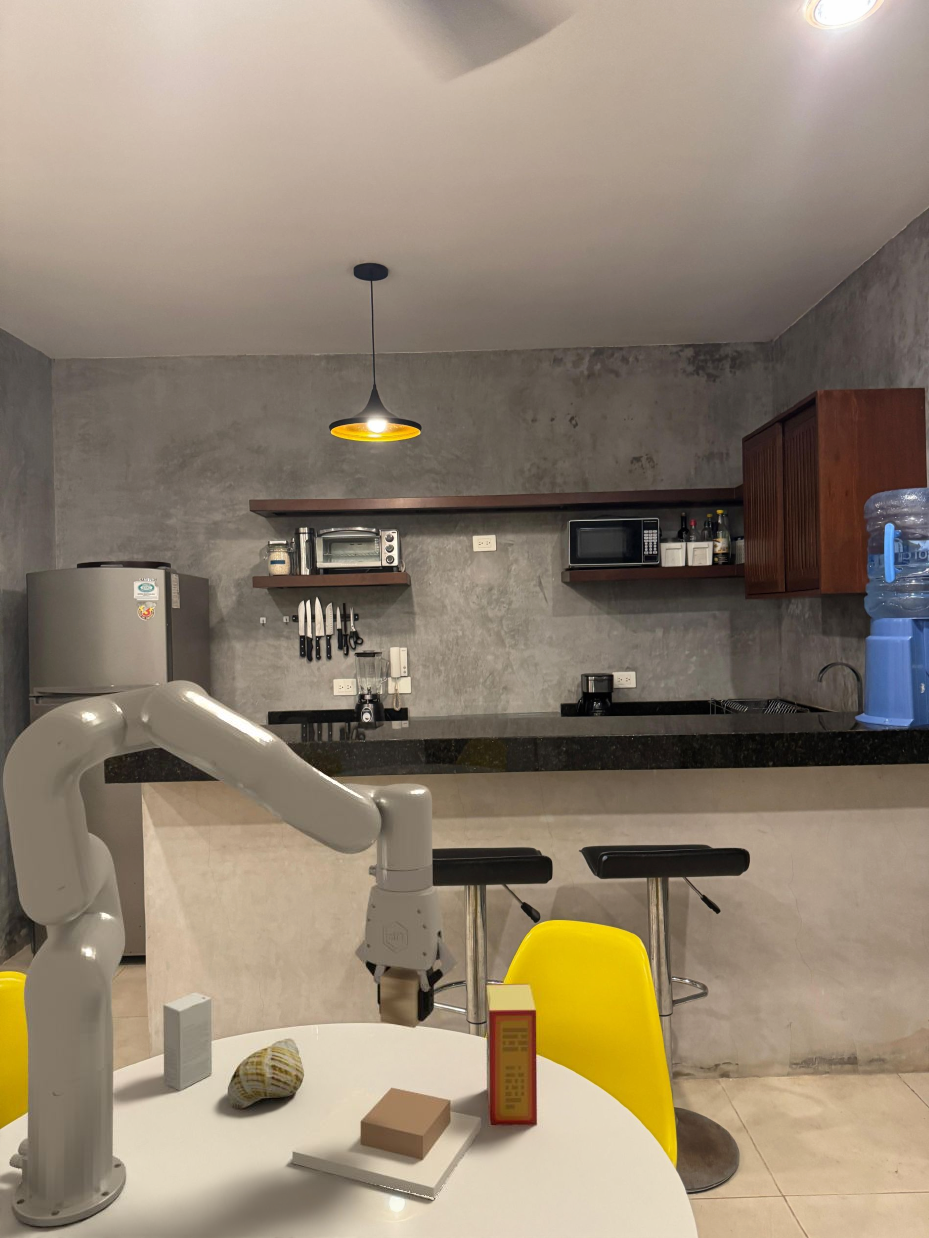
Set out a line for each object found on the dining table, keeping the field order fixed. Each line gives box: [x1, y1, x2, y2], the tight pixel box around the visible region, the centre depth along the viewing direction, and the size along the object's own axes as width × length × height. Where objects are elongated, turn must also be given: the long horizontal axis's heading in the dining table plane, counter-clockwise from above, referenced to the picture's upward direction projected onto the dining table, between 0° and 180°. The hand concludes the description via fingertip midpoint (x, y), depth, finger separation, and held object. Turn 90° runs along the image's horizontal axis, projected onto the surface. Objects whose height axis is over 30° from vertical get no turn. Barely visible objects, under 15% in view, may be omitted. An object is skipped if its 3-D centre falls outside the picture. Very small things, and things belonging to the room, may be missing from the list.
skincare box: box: [162, 991, 213, 1092], centre depth 130 cm, size 6×4×12 cm
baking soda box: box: [485, 983, 538, 1126], centre depth 122 cm, size 10×6×16 cm
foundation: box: [291, 1087, 482, 1198], centre depth 112 cm, size 20×16×4 cm
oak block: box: [379, 967, 422, 1029], centre depth 113 cm, size 5×5×6 cm
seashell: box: [227, 1038, 305, 1110], centre depth 125 cm, size 10×10×10 cm
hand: (405, 1012), depth 113 cm, fingers closed on oak block, 5 cm apart
